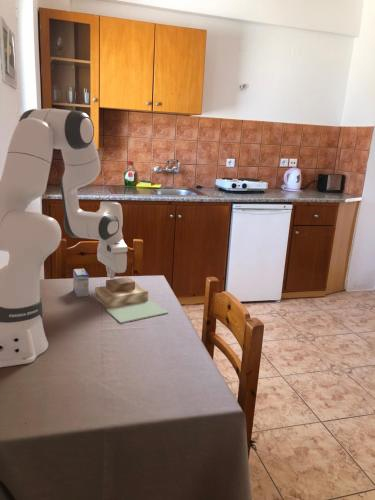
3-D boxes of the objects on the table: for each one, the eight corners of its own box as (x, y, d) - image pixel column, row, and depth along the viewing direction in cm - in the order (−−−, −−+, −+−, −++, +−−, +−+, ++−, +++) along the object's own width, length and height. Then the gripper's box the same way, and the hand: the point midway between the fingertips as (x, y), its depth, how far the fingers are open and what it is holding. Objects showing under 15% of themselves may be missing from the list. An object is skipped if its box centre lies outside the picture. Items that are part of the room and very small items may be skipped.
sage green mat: (120, 323, 134) (120, 322, 134) (106, 310, 144) (106, 309, 144) (168, 313, 144) (168, 312, 144) (151, 301, 153) (151, 300, 153)
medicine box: (73, 290, 161) (72, 269, 159) (84, 289, 163) (84, 268, 161) (77, 297, 154) (76, 275, 152) (89, 296, 156) (88, 274, 154)
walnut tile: (112, 293, 149) (112, 285, 148) (105, 287, 154) (105, 280, 153) (134, 289, 154) (135, 281, 153) (128, 284, 159) (128, 276, 158)
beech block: (107, 308, 145) (107, 298, 144) (95, 297, 155) (95, 287, 154) (148, 301, 154) (148, 291, 153) (133, 291, 163) (133, 281, 162)
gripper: (92, 237, 164) (93, 271, 167) (113, 250, 147) (113, 286, 151) (107, 236, 167) (107, 269, 171) (129, 248, 151) (129, 284, 154)
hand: (110, 277), depth 161 cm, fingers closed
